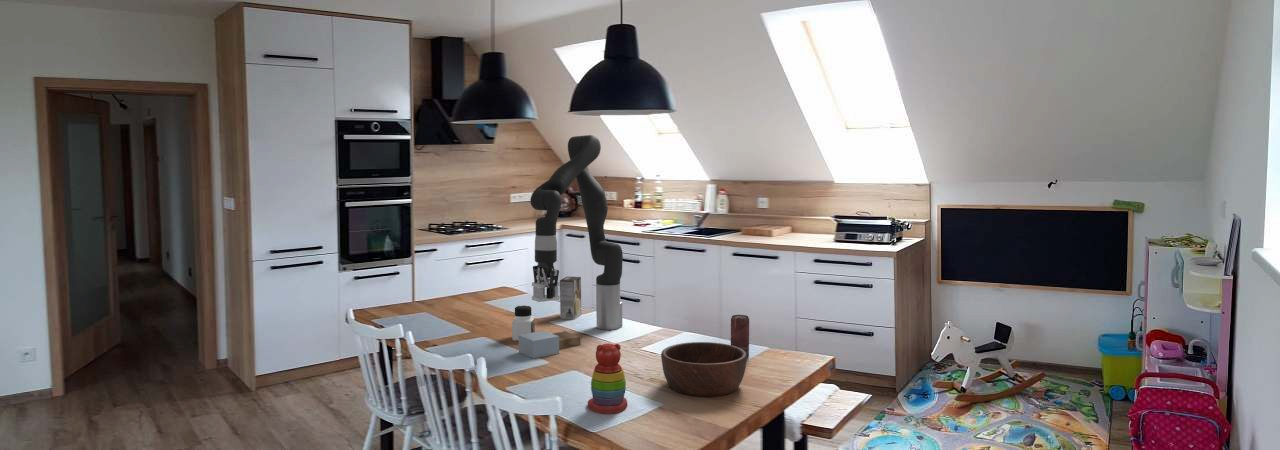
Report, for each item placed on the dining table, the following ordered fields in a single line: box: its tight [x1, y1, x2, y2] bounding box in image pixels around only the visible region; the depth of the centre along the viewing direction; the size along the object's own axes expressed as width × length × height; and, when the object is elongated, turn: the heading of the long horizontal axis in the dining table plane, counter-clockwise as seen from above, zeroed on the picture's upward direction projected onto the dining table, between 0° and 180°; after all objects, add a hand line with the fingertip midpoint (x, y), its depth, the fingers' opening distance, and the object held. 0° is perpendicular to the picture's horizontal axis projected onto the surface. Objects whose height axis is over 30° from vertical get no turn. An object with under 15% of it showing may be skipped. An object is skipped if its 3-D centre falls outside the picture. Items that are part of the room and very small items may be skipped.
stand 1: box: [518, 330, 560, 359], centre depth 267 cm, size 10×10×6 cm
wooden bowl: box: [660, 341, 748, 397], centre depth 229 cm, size 25×25×10 cm
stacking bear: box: [587, 343, 628, 415], centre depth 210 cm, size 11×10×18 cm
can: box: [730, 314, 750, 359], centre depth 259 cm, size 6×6×14 cm
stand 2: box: [552, 330, 582, 350], centre depth 278 cm, size 10×10×3 cm
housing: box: [531, 280, 560, 303], centre depth 269 cm, size 8×5×6 cm, turn 127°
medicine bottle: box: [511, 304, 536, 342], centre depth 286 cm, size 7×7×12 cm
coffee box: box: [559, 276, 582, 320], centre depth 321 cm, size 9×6×16 cm
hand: (545, 297), depth 269 cm, fingers closed on housing, 5 cm apart
